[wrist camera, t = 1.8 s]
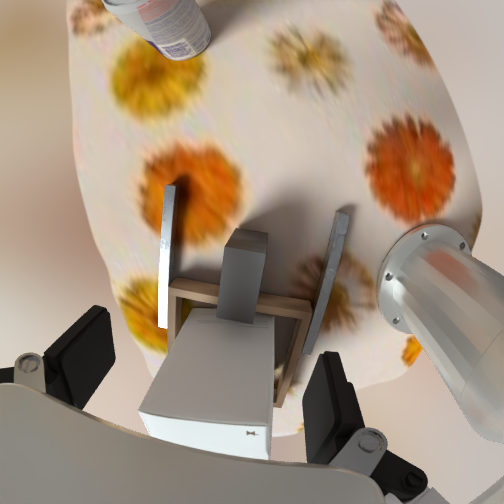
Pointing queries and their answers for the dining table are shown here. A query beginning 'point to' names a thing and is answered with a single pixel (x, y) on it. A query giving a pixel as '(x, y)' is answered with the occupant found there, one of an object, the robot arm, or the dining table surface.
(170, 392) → the supplement box
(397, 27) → the dining table surface
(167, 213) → the lane rails
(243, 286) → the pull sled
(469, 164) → the dining table surface
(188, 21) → the energy drink
